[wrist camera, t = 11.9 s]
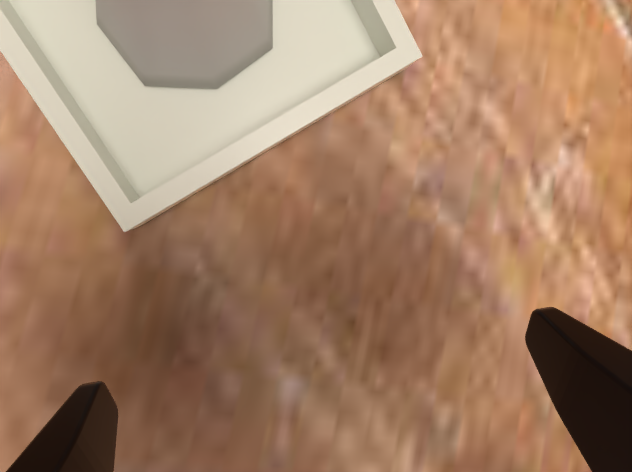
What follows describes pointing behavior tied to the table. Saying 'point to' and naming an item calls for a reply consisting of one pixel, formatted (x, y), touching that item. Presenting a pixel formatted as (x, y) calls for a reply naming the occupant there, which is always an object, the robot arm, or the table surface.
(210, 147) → the tray
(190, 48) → the flask
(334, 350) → the table surface
